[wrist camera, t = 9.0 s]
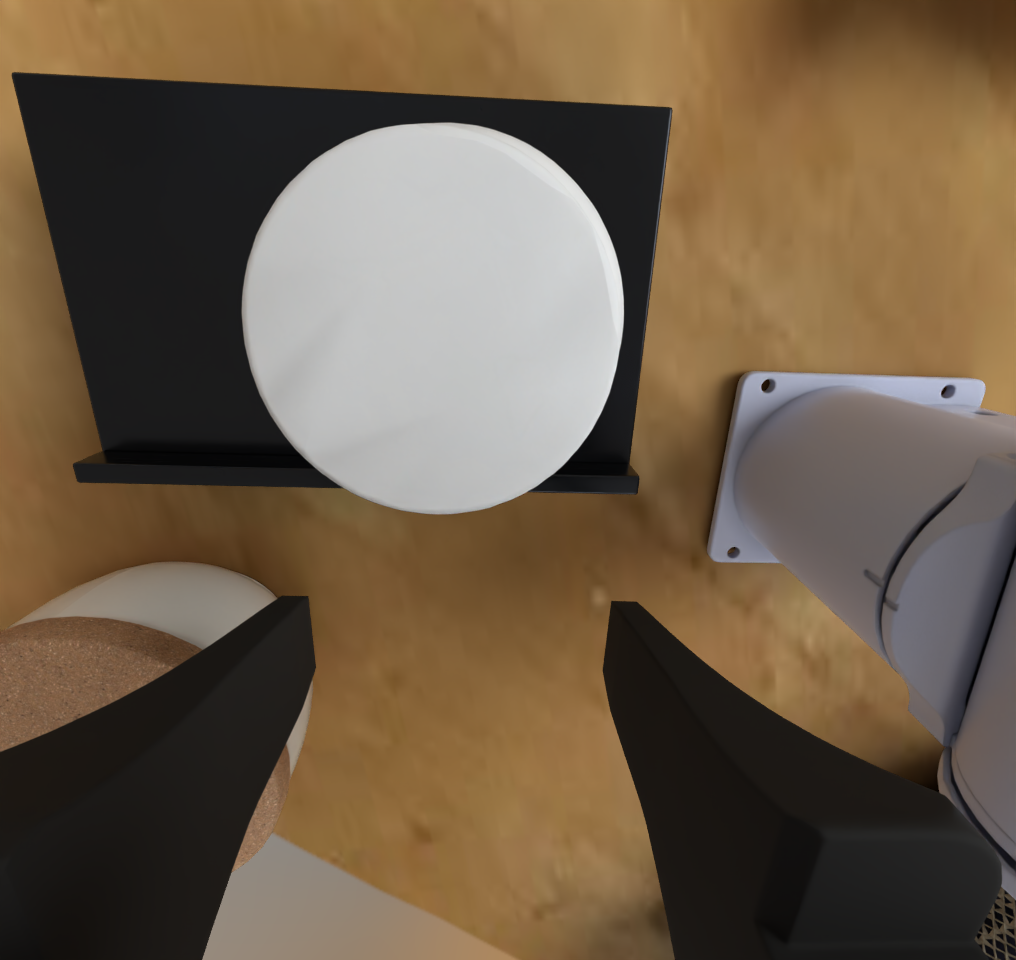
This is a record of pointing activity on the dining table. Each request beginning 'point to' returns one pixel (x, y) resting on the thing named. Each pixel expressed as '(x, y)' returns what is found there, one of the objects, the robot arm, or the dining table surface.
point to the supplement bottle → (433, 316)
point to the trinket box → (131, 656)
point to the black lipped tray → (230, 237)
